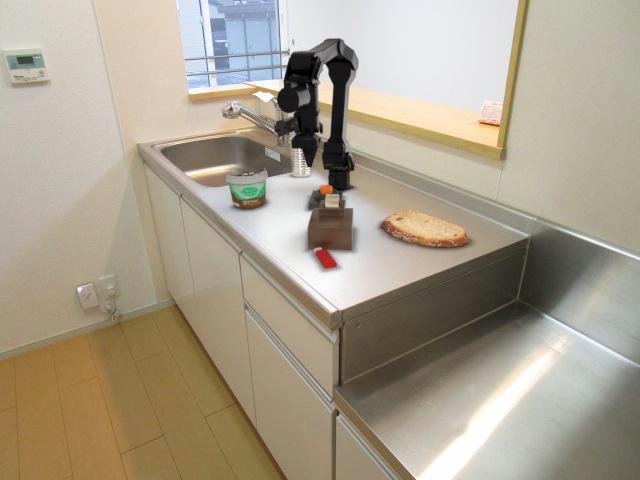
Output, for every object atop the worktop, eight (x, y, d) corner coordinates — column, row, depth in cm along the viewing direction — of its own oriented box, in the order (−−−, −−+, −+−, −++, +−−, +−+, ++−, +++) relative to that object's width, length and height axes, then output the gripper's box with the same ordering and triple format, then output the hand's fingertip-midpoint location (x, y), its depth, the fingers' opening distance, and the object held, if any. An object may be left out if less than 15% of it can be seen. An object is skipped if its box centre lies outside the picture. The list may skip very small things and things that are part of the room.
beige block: (326, 203, 111) (326, 194, 110) (339, 203, 110) (339, 194, 109) (325, 208, 108) (325, 198, 107) (338, 208, 107) (338, 199, 106)
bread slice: (473, 245, 103) (475, 230, 102) (398, 253, 101) (399, 238, 100) (442, 215, 119) (444, 202, 118) (377, 221, 117) (377, 208, 116)
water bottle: (311, 177, 152) (308, 101, 142) (290, 177, 153) (286, 101, 142) (311, 171, 159) (308, 97, 148) (292, 171, 159) (288, 98, 148)
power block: (313, 196, 136) (312, 185, 134) (342, 196, 135) (342, 185, 133) (308, 210, 126) (308, 198, 124) (341, 210, 125) (340, 198, 124)
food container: (235, 214, 124) (231, 179, 120) (228, 207, 129) (224, 174, 125) (276, 205, 129) (274, 172, 125) (268, 199, 134) (266, 166, 130)
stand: (314, 227, 115) (313, 199, 112) (353, 227, 114) (353, 200, 111) (308, 250, 104) (307, 220, 101) (351, 250, 103) (352, 220, 100)
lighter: (324, 264, 95) (313, 248, 102) (324, 269, 95) (313, 253, 102) (336, 262, 96) (325, 246, 102) (336, 267, 96) (325, 251, 103)
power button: (320, 190, 131) (320, 184, 130) (332, 190, 130) (332, 184, 130) (319, 195, 128) (319, 189, 127) (332, 195, 127) (331, 189, 126)
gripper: (281, 100, 121) (284, 157, 128) (267, 113, 104) (272, 178, 111) (322, 100, 120) (324, 157, 127) (315, 112, 103) (317, 178, 110)
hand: (309, 167), depth 118 cm, fingers closed
